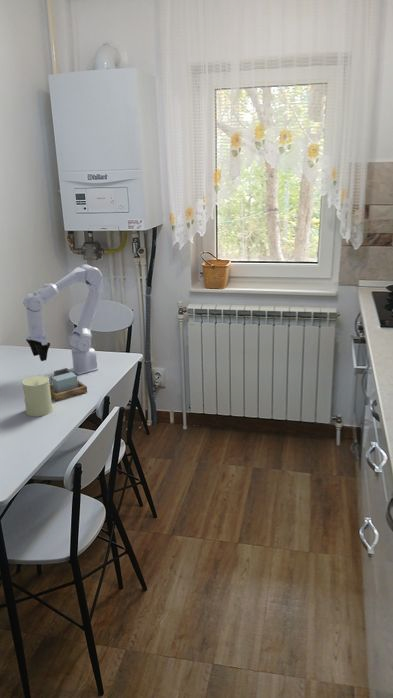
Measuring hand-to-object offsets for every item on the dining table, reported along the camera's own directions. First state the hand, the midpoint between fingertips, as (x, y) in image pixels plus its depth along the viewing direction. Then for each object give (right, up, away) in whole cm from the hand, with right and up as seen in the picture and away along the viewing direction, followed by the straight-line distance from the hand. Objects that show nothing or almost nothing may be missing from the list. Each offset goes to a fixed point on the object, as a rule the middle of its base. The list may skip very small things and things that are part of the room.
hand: (40, 357), depth 217 cm
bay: (+10, -9, +2) cm, 14 cm away
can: (+7, -18, -24) cm, 31 cm away
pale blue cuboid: (+13, -12, -10) cm, 20 cm away
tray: (+13, -13, -9) cm, 20 cm away
